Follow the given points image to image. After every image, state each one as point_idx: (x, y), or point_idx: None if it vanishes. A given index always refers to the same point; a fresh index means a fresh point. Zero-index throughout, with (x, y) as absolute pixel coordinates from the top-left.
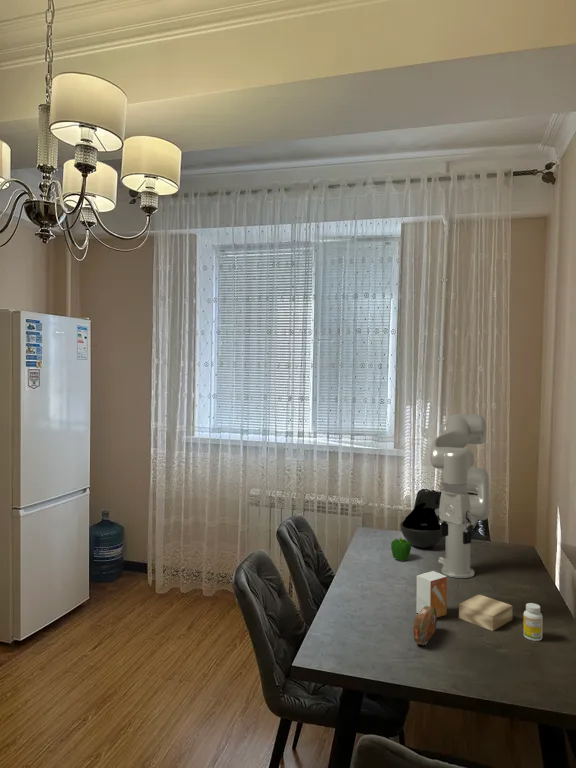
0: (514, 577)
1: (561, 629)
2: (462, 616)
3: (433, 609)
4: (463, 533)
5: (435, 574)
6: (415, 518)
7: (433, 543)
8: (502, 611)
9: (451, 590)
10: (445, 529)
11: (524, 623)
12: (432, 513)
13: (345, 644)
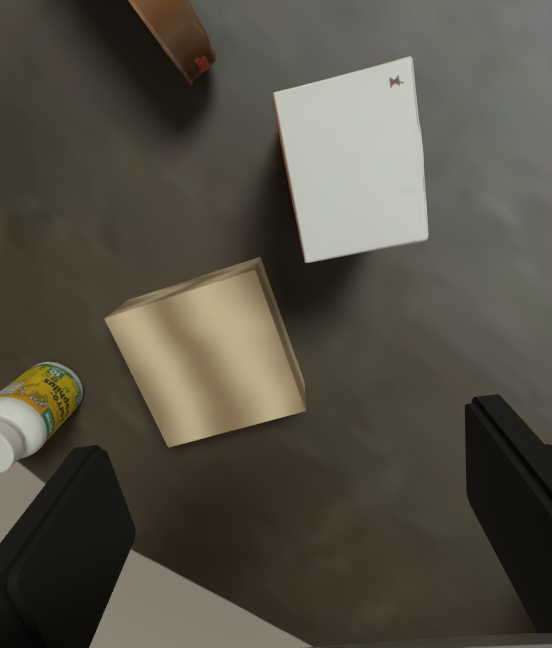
0: (448, 635)
1: None
2: (243, 264)
3: (167, 43)
4: (5, 557)
5: (362, 209)
6: None
7: None
8: (137, 382)
9: (482, 395)
10: (509, 527)
11: (33, 384)
12: None
13: None
